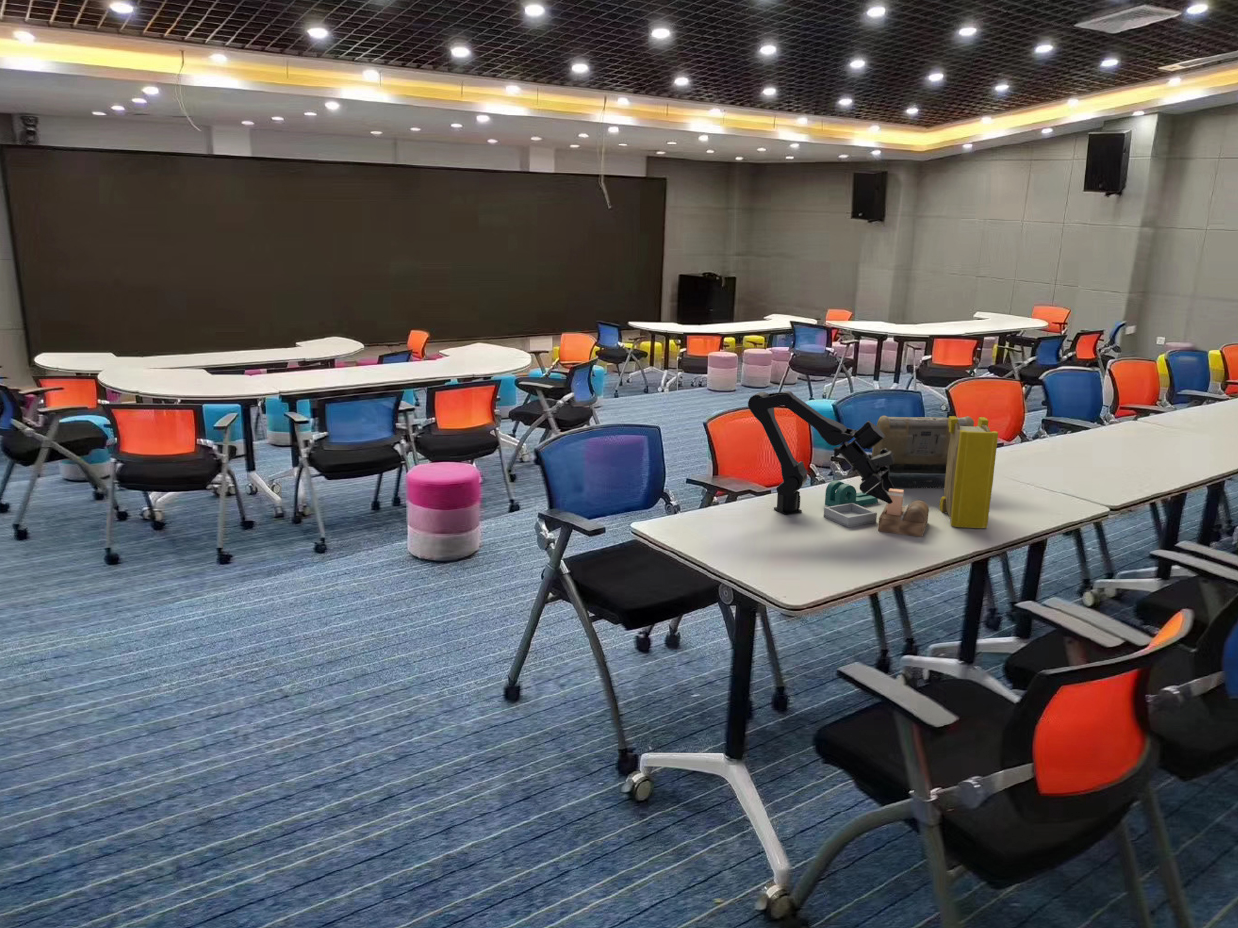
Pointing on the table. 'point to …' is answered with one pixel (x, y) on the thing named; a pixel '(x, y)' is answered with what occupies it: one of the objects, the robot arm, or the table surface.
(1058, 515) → the table surface
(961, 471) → the decorative book
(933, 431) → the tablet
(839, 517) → the tray
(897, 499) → the peach block
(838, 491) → the bracket
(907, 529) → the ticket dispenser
